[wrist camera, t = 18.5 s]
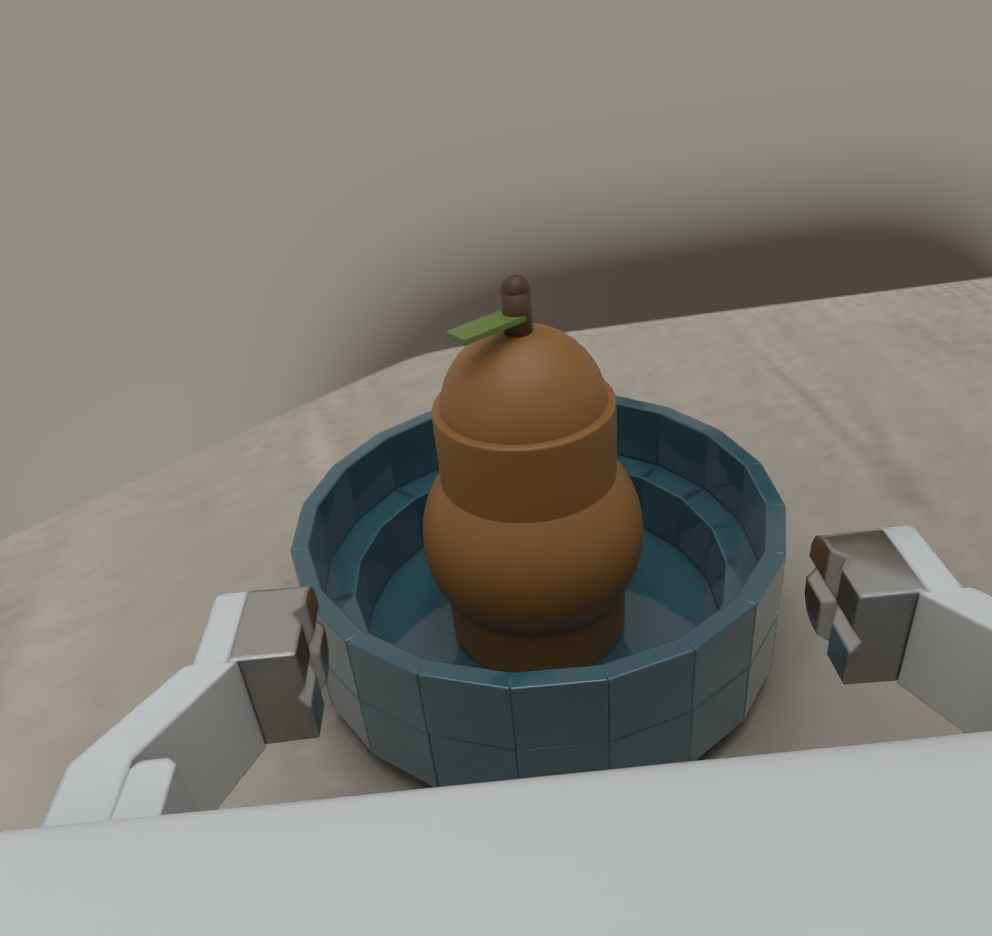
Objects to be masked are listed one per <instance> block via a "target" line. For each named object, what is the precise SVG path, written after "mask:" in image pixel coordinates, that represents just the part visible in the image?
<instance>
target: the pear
mask: <svg viewBox="0 0 992 936" xmlns="http://www.w3.org/2000/svg"><path fill="white" fill-rule="evenodd" d="M500 296H501V308H502V310H500V311H497V312H495V313H492V314H490V315H487V316H485V317H482V318H479V319H477V320H474V321H472V322H469V323H466V324H464V325H461V326H459V327H456V328H454V329H451V330H449V331H446V334H447V338H449V339H451V340H453V341H456V342H458V343H460V344H462V345H464V346H465V347H464V348H463V349H462V351H461V352H460V353H459V354H458V355H457V357H456V358H455V359H454V361H453V363H452V364H451V366H450V368H449V370H448V372H447V374H446V377H445V379H444V382H443V386H442V390H441V392H440V393H439V395H438V396H437V397H436V399H435V401H434V404H433V407H432V422H433V429H434V436H435V443H436V450H437V457H438V465H439V473H438V475H437V476H436V478H435V480H434V483H433V485H432V487H431V490H430V492H429V494H428V498H427V502H426V506H425V511H424V517H423V543H424V549H425V553H426V558H427V562H428V566H429V568H430V570H431V573H432V575H433V577H434V579H435V581H436V584H437V585H438V587H439V588H440V590H441V591H442V593H443V594H444V596H445V597H446V599H447V600H448V601H449V602H450V603H451V608H452V615H453V622H454V628H455V632H456V636H457V638H458V640H459V642H460V644H461V645H462V647H463V648H464V650H465V651H466V652H467V653H468V654H469V655H470V656H471V657H472V658H473V659H474V660H476V661H477V662H478V663H480V664H481V665H483V666H485V667H487V668H488V669H491V670H498V671H505V672H511V673H513V672H524V671H536V670H547V669H558V668H569V667H581V666H590V665H592V664H593V663H595V662H596V661H598V660H599V659H601V658H602V657H603V656H604V655H606V654H607V653H608V651H609V650H610V649H611V648H612V647H613V646H614V644H615V643H616V642H617V640H618V638H619V636H620V634H621V632H622V629H623V625H624V618H625V591H626V589H627V588H628V586H629V584H630V582H631V580H632V578H633V576H634V574H635V572H636V570H637V566H638V562H639V559H640V555H641V552H642V544H643V531H644V529H643V516H642V510H641V506H640V501H639V497H638V495H637V492H636V490H635V488H634V485H633V483H632V480H631V478H630V477H629V475H628V474H627V472H626V470H625V469H624V467H623V466H622V464H621V463H620V462H619V461H618V459H617V401H616V396H615V393H614V391H613V389H612V388H611V386H610V385H609V384H608V383H607V382H606V381H605V380H604V379H603V377H602V374H601V372H600V369H599V367H598V366H597V364H596V362H595V361H594V359H593V358H592V356H591V355H590V354H589V353H588V352H587V350H586V349H585V348H584V347H583V346H582V345H580V344H579V343H578V342H577V341H576V340H575V339H573V338H572V337H570V336H569V335H567V334H565V333H564V332H562V331H560V330H557V329H555V328H552V327H549V326H546V325H542V324H535V323H532V307H531V291H530V285H529V282H528V281H527V280H526V279H525V278H524V277H523V276H521V275H517V274H514V275H510V276H508V277H506V278H505V279H504V280H503V282H502V283H501V286H500ZM466 345H467V346H466Z"/></svg>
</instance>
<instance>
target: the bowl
mask: <svg viewBox="0 0 992 936" xmlns="http://www.w3.org/2000/svg"><path fill="white" fill-rule="evenodd" d="M616 401H617V459H618V461H619V462H620V463H621V464H622V466H623V467H624V469H625V470H626V472H627V474H628V475H629V477H630V478H631V480H632V483H633V485H634V488H635V490H636V492H637V495H638V497H639V501H640V506H641V510H642V516H643V529H644V531H643V544H642V552H641V555H640V559H639V562H638V566H637V570H636V572H635V574H634V576H633V578H632V580H631V582H630V584H629V586H628V588H627V589H626V591H625V618H624V625H623V629H622V632H621V634H620V636H619V638H618V640H617V642H616V643H615V644H614V646H613V647H612V648H611V649H610V650H609V651H608V653H607V654H606V655H604V656H603V657H602V658H601V659H599V660H598V661H596V662H595V663H593V664H592V665H590V666H581V667H569V668H558V669H547V670H536V671H524V672H513V673H511V672H505V671H498V670H491V669H488V668H487V667H485V666H483V665H481V664H480V663H478V662H477V661H476V660H474V659H473V658H472V657H471V656H470V655H469V654H468V653H467V652H466V651H465V650H464V648H463V647H462V645H461V644H460V642H459V640H458V638H457V636H456V632H455V628H454V622H453V615H452V608H451V603H450V602H449V601H448V600H447V599H446V597H445V596H444V594H443V593H442V591H441V590H440V588H439V587H438V585H437V584H436V581H435V579H434V577H433V575H432V573H431V570H430V568H429V566H428V562H427V558H426V553H425V549H424V543H423V517H424V511H425V506H426V502H427V498H428V494H429V492H430V490H431V487H432V485H433V483H434V480H435V478H436V476H437V475H438V473H439V465H438V457H437V450H436V443H435V436H434V429H433V422H432V411H431V412H426V413H424V414H422V415H420V416H417V417H415V418H413V419H410V420H408V421H406V422H404V423H401V424H399V425H397V426H394V427H392V428H390V429H388V430H385V431H383V432H381V433H378V435H375V436H374V437H372V438H371V439H369V440H368V441H367V442H365V443H364V444H363V445H361V446H360V447H358V448H357V449H356V450H354V451H353V452H351V453H350V454H349V455H347V456H346V457H344V458H343V459H342V460H340V461H339V462H337V463H336V464H335V465H334V466H333V467H332V468H331V469H330V470H329V471H328V473H327V474H326V475H325V477H324V478H323V479H322V480H321V482H320V483H319V484H318V485H317V487H316V488H315V489H314V491H313V492H312V493H311V494H310V496H309V497H308V498H307V500H306V501H305V502H304V503H303V506H302V508H301V512H300V516H299V520H298V524H297V528H296V531H295V535H294V539H293V543H292V547H291V556H292V560H293V563H294V567H295V571H296V574H297V578H298V582H299V586H300V587H307V586H311V587H312V588H313V589H314V590H315V593H316V597H317V600H318V603H319V608H318V614H317V620H318V621H319V622H320V623H321V624H323V625H324V627H325V631H326V635H327V641H328V648H329V673H328V681H327V684H326V686H327V689H328V693H329V697H330V700H331V704H332V706H333V707H334V708H335V710H336V711H337V712H338V713H339V714H340V715H341V717H342V718H343V719H344V720H345V721H346V722H347V724H348V725H349V726H350V727H351V728H352V730H353V731H354V732H355V733H356V734H357V735H358V737H359V738H360V739H361V740H362V741H363V742H364V744H365V745H366V746H367V747H368V748H369V749H370V751H372V752H373V754H374V755H375V756H377V757H379V758H381V759H383V760H385V761H386V762H388V763H390V764H392V765H394V766H396V767H398V768H399V769H401V770H403V771H405V772H407V773H409V774H410V775H412V776H414V777H416V778H418V779H420V780H421V781H423V782H425V783H427V784H429V785H431V786H433V787H443V786H453V785H463V784H473V783H483V782H493V781H502V780H512V779H522V778H532V777H541V776H551V775H561V774H571V773H580V772H590V771H600V770H610V769H619V768H629V767H639V766H649V765H658V764H668V763H678V762H688V761H696V760H697V759H698V758H699V757H701V756H702V755H703V754H704V753H705V752H707V751H708V750H709V749H710V748H711V747H712V746H714V745H715V744H716V743H717V742H718V741H720V740H721V739H722V738H723V737H724V736H726V735H727V734H728V733H729V732H730V731H732V730H733V729H734V728H735V727H736V726H738V725H739V724H740V723H741V722H742V720H744V719H745V717H746V715H747V713H748V711H749V709H750V707H751V705H752V704H753V702H754V700H755V698H756V696H757V694H758V692H759V690H760V688H761V686H762V684H763V682H764V680H765V678H766V676H767V674H768V673H769V671H770V669H771V665H772V657H773V650H774V642H775V635H776V627H777V619H778V611H779V604H780V597H781V589H782V581H783V574H784V566H785V558H786V507H785V504H784V502H783V501H782V499H781V497H780V495H779V493H778V492H777V490H776V488H775V486H774V485H773V483H772V481H771V479H770V478H769V476H768V474H767V472H766V471H765V469H764V467H763V465H762V464H761V463H760V462H759V461H758V460H757V459H755V458H754V457H753V456H752V455H751V454H749V453H748V452H747V451H746V450H744V449H743V448H742V447H741V446H739V445H738V444H737V443H736V442H734V441H733V440H732V439H731V438H729V437H728V436H727V435H726V434H724V433H723V432H722V431H720V430H719V429H716V428H714V427H712V426H709V425H707V424H705V423H703V422H700V421H698V420H696V419H694V418H691V417H689V416H687V415H685V414H682V413H680V412H678V411H676V410H673V409H671V408H668V407H664V406H660V405H655V404H651V403H646V402H642V401H637V400H633V399H628V398H624V397H620V396H616Z"/></svg>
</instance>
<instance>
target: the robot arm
mask: <svg viewBox="0 0 992 936" xmlns="http://www.w3.org/2000/svg"><path fill="white" fill-rule="evenodd" d="M810 557H811V559H812V561H813V562H814V564H815V566H816V568H815V569H814V570H813V571H812V572H811V573H810V574H809V575H808V576H807V577H806V587H805V600H806V609H807V613H808V616H809V619H810V622H811V624H812V626H813V628H814V630H815V632H816V634H818V635H819V636H821V637H823V638H824V639H826V640H828V641H829V645H828V651H827V655H828V656H829V658H830V660H831V662H832V664H833V666H834V667H835V669H836V671H837V673H838V675H839V677H840V678H841V680H842V682H843V684H856V683H869V682H883V681H896V680H898V682H897V683H898V684H900V685H901V686H902V687H904V688H905V689H906V690H908V691H909V692H910V693H912V694H913V695H915V696H916V697H917V698H919V699H920V700H921V701H923V702H924V703H925V704H927V705H928V706H929V707H931V708H932V709H933V710H935V711H936V712H938V713H939V714H940V715H942V716H943V717H944V718H946V719H947V720H948V721H950V722H951V723H952V724H954V725H955V726H956V727H958V728H959V729H960V730H962V731H963V732H965V733H964V734H954V735H945V736H935V737H925V738H916V739H907V740H897V741H888V742H878V743H868V744H858V745H848V746H838V747H828V748H818V749H808V750H798V751H788V752H778V753H768V754H758V755H748V756H738V757H728V758H718V759H708V760H698V761H688V762H678V763H668V764H658V765H649V766H639V767H629V768H619V769H610V770H600V771H590V772H580V773H571V774H561V775H551V776H541V777H532V778H522V779H512V780H502V781H493V782H483V783H473V784H463V785H453V786H443V787H433V788H423V789H413V790H404V791H394V792H384V793H374V794H364V795H354V796H344V797H334V798H324V799H315V800H305V801H295V802H285V803H275V804H265V805H255V806H245V807H235V808H225V809H218V808H219V806H220V805H221V804H222V802H223V801H224V800H225V799H226V797H227V796H228V795H229V794H230V792H231V791H232V790H233V789H234V787H235V786H236V785H237V783H238V782H239V781H240V780H241V778H242V777H243V776H244V775H245V773H246V772H247V771H248V769H249V768H250V767H251V766H252V764H253V763H254V762H255V761H256V759H257V758H258V757H259V755H260V754H261V753H262V752H263V750H264V749H265V748H266V745H265V744H270V743H278V742H286V741H294V740H302V739H309V738H317V737H319V735H320V729H321V722H322V716H323V709H324V702H323V698H322V694H321V689H322V688H323V687H324V686H325V685H326V684H327V681H328V673H329V648H328V641H327V635H326V631H325V627H324V625H323V624H321V623H320V622H319V621H318V620H317V614H318V608H319V603H318V600H317V597H316V593H315V590H314V589H313V588H312V587H311V586H307V587H294V588H281V589H268V590H255V591H251V592H236V593H224V594H220V595H219V596H218V597H217V598H216V599H215V600H214V603H213V606H212V609H211V612H210V615H209V618H208V621H207V624H206V627H205V630H204V633H203V636H202V639H201V642H200V645H199V648H198V651H197V654H196V657H195V660H194V663H193V665H192V666H184V667H183V668H181V669H180V670H179V671H178V672H177V673H176V674H174V675H173V676H172V677H171V678H170V679H169V680H167V681H166V682H165V683H164V684H163V685H162V686H160V687H159V688H158V689H157V690H156V691H155V692H153V693H152V694H151V695H150V696H149V697H147V698H146V699H145V700H144V701H143V702H142V703H140V704H139V705H138V706H137V707H136V708H135V709H133V710H132V711H131V712H130V713H129V714H128V715H126V716H125V717H124V718H123V719H122V720H121V721H119V722H118V723H117V724H116V725H115V726H114V727H112V728H111V729H110V730H109V731H108V732H107V733H105V734H104V735H103V736H102V737H101V738H100V739H98V740H97V741H96V742H95V743H94V744H93V745H91V746H90V747H89V748H88V749H87V750H85V751H84V752H83V753H82V754H81V755H80V756H78V757H77V758H76V759H75V760H74V761H73V762H71V763H70V764H69V765H68V766H67V769H66V771H65V773H64V775H63V778H62V780H61V782H60V784H59V787H58V789H57V791H56V793H55V796H54V798H53V800H52V802H51V805H50V807H49V809H48V811H47V814H46V816H45V818H44V820H43V823H42V825H41V827H37V828H27V829H17V830H7V831H0V936H992V596H990V595H987V594H985V593H983V592H981V591H979V590H977V589H975V588H973V587H970V588H963V587H962V586H961V585H960V584H959V582H958V581H957V580H956V579H955V577H954V576H953V575H952V574H951V572H950V571H949V570H948V569H947V567H946V566H945V565H944V564H943V562H942V561H941V560H940V559H939V557H938V556H937V555H936V554H935V552H934V551H933V550H932V549H931V547H930V546H929V545H928V544H927V543H926V541H925V540H924V539H923V538H922V536H921V535H920V534H919V533H918V531H917V530H916V529H915V528H914V527H912V526H910V525H903V526H895V527H887V528H879V529H877V530H867V531H858V532H848V533H839V534H830V535H820V536H815V538H814V540H813V542H812V545H811V551H810Z"/></svg>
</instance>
